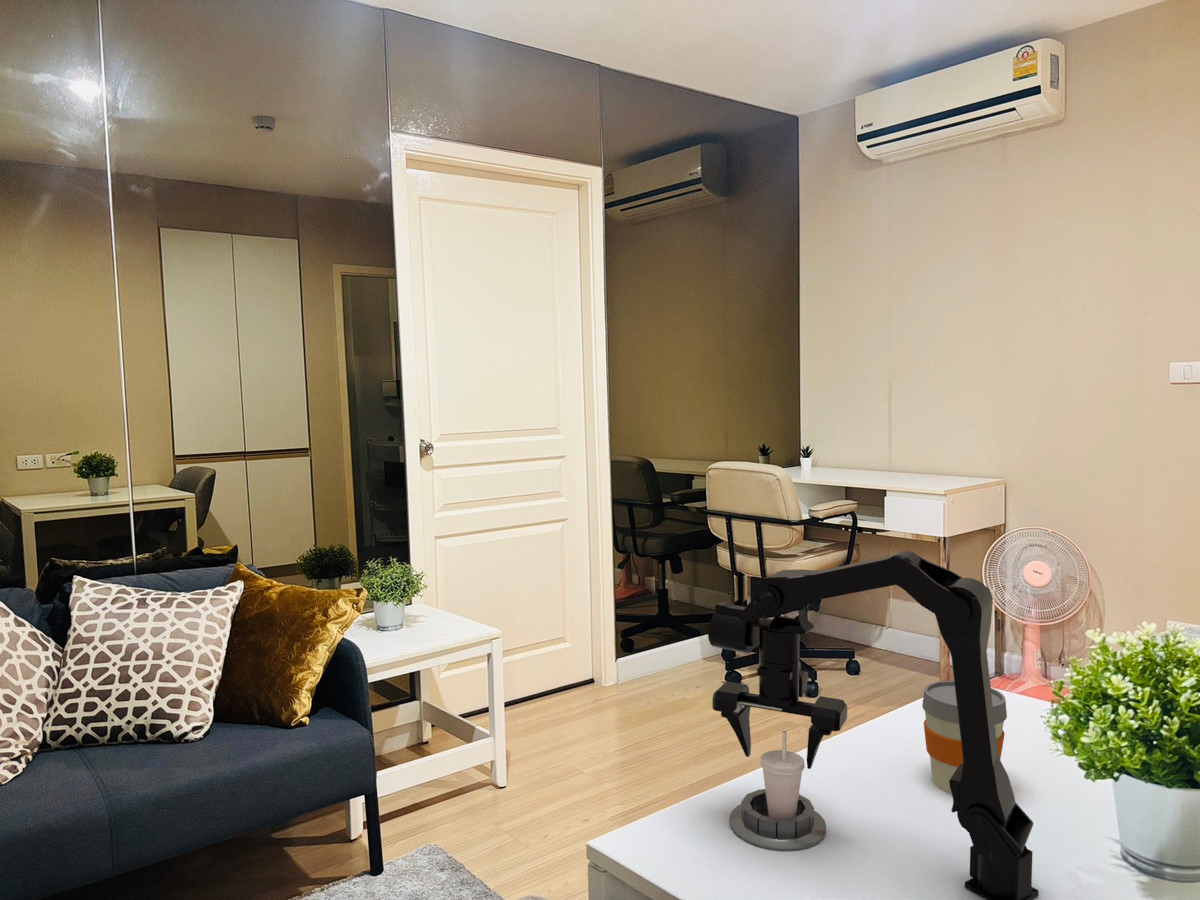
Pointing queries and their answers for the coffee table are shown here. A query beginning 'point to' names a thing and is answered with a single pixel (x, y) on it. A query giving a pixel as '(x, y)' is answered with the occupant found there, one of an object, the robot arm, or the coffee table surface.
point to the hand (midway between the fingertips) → (778, 761)
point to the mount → (777, 824)
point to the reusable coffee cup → (951, 729)
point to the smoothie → (782, 781)
